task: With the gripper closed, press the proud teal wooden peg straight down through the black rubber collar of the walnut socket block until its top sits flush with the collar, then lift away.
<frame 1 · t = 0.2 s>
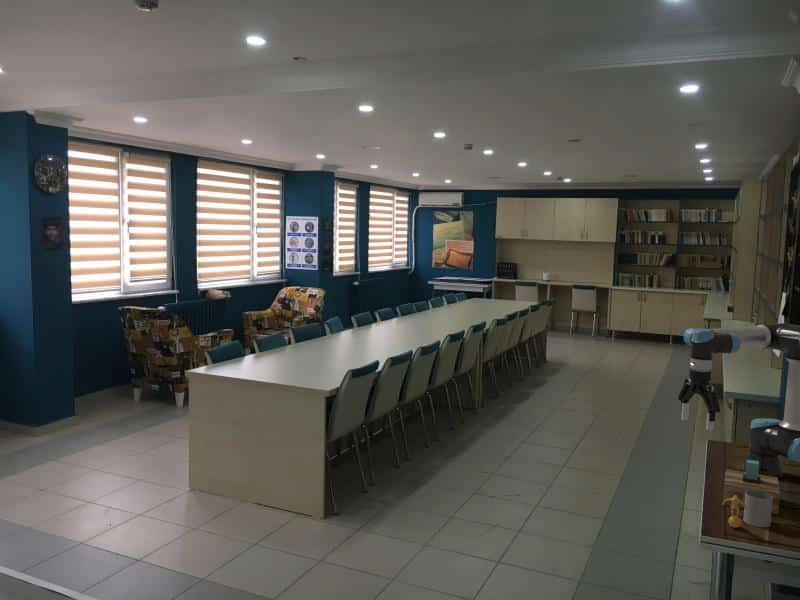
hand: (696, 424, 256), 28 cm above the table, fingers open, 13 cm apart
cup: (756, 522, 235), on the table
figurine: (733, 528, 229), on the table
socket block: (749, 500, 254), on the table
peg: (752, 472, 253), point 11 cm above the table, slide at 0.0 cm
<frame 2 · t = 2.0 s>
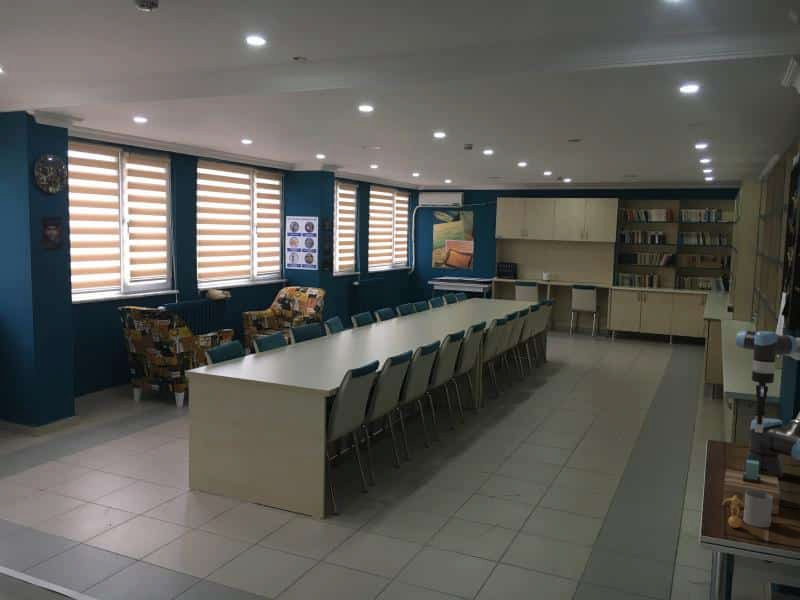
hand: (758, 430, 261), 25 cm above the table, fingers open, 3 cm apart
nothing on the table moved.
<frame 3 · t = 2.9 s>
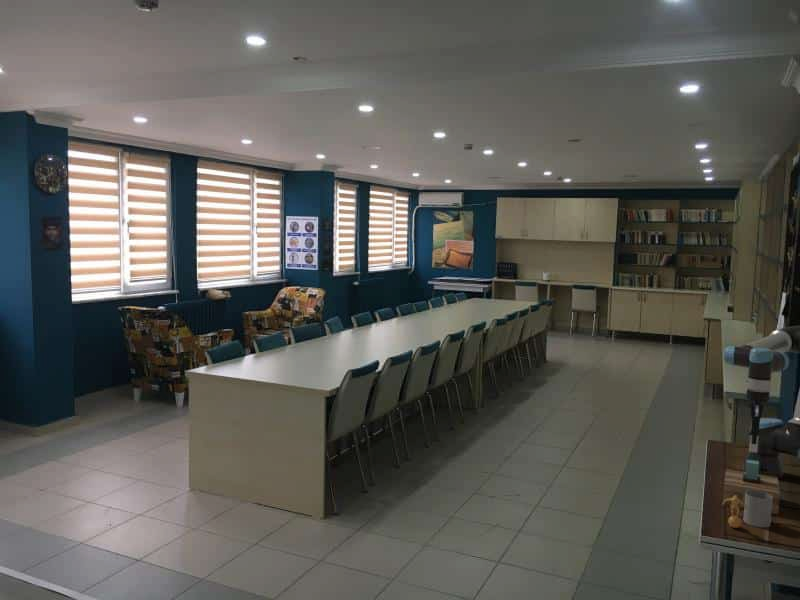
hand: (753, 451, 252), 19 cm above the table, fingers closed
nothing on the table moved.
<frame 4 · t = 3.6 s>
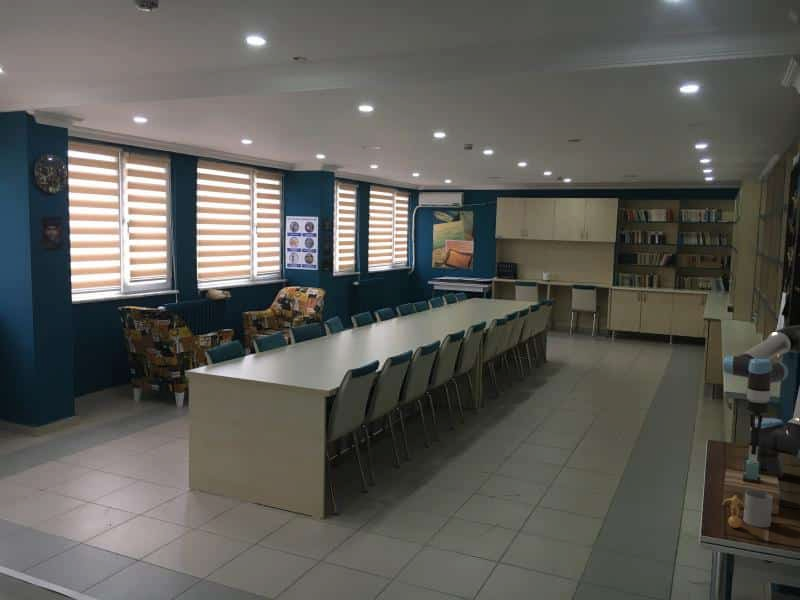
hand: (752, 461, 252), 15 cm above the table, fingers closed
peg: (752, 472, 253), point 11 cm above the table, slide at 0.2 cm, touching gripper
everything else where it was.
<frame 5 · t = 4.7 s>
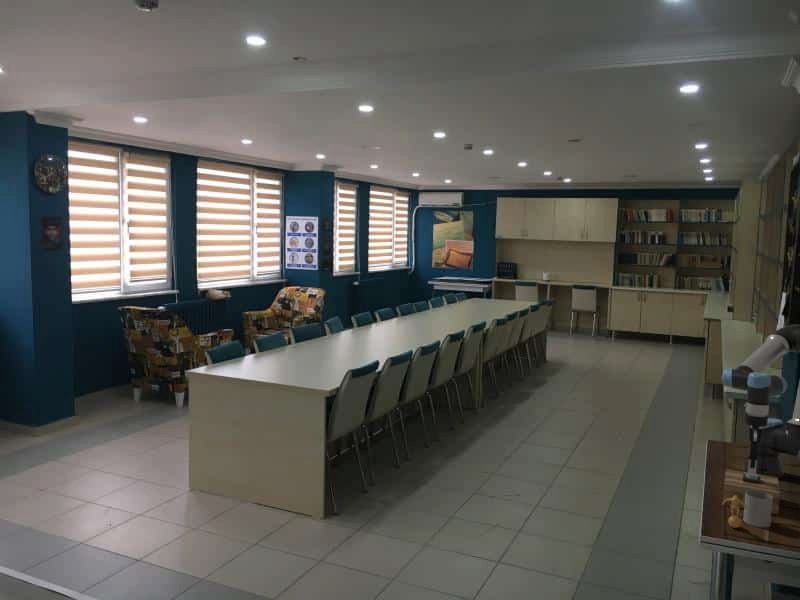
hand: (751, 475, 253), 10 cm above the table, fingers closed
peg: (750, 486, 253), point 6 cm above the table, slide at 5.5 cm, touching gripper
everything else where it was.
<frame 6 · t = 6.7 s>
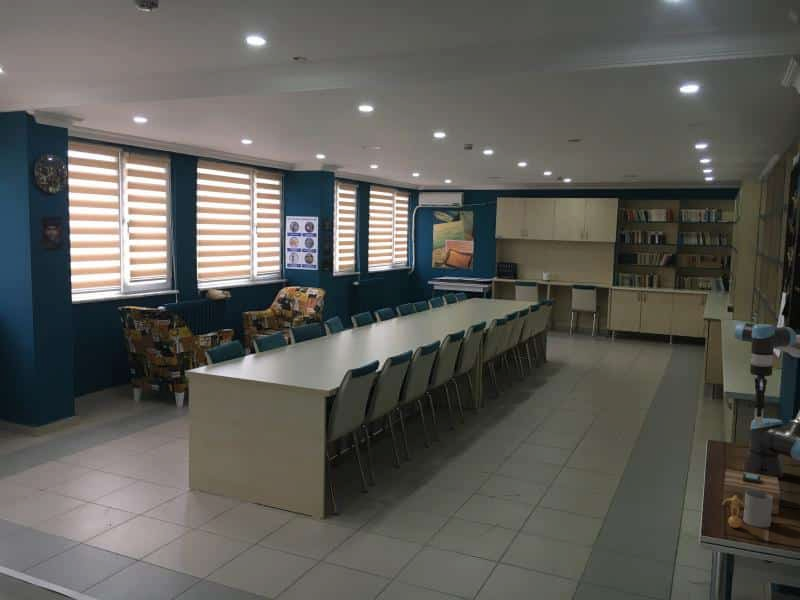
hand: (758, 423, 261), 27 cm above the table, fingers closed
peg: (750, 486, 253), point 6 cm above the table, slide at 5.6 cm
everything else where it was.
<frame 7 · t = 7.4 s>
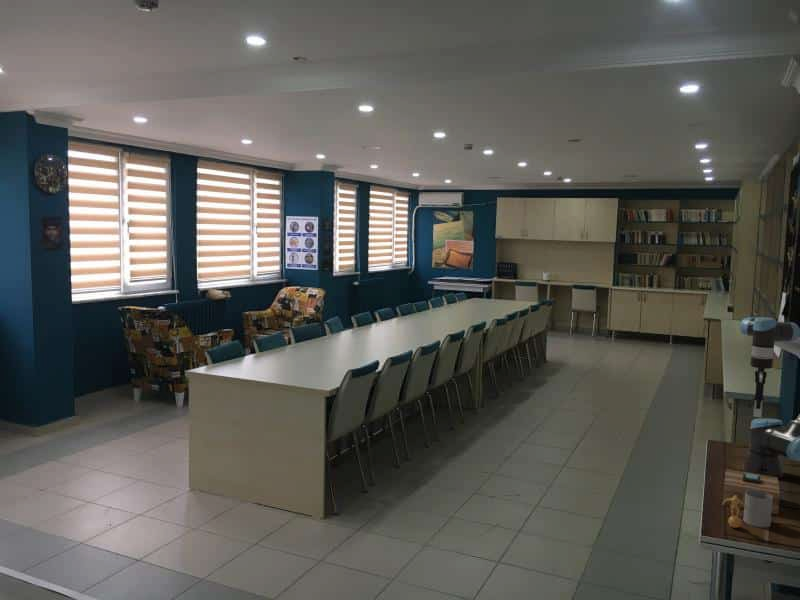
hand: (757, 416, 264), 29 cm above the table, fingers closed
nothing on the table moved.
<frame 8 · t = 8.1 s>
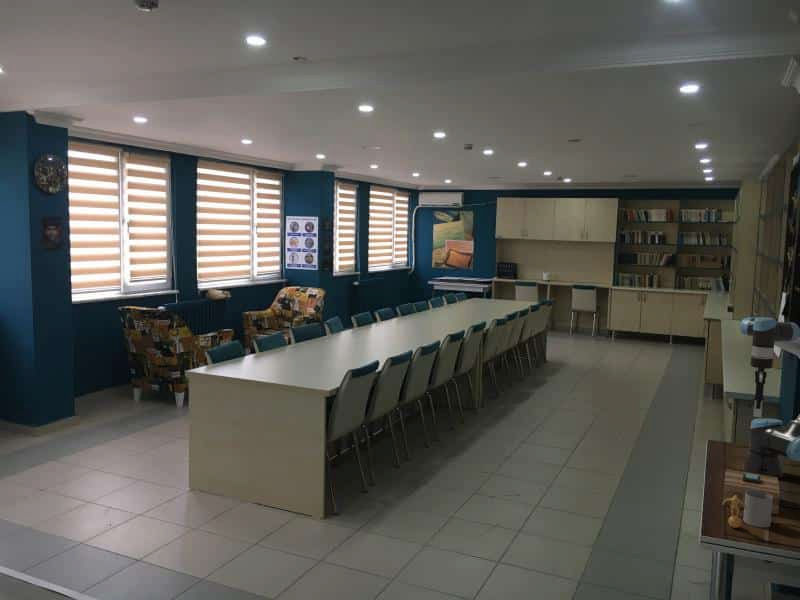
hand: (757, 416, 264), 29 cm above the table, fingers closed
nothing on the table moved.
at the end: peg slide at 5.6 cm; peg touching nothing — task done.
